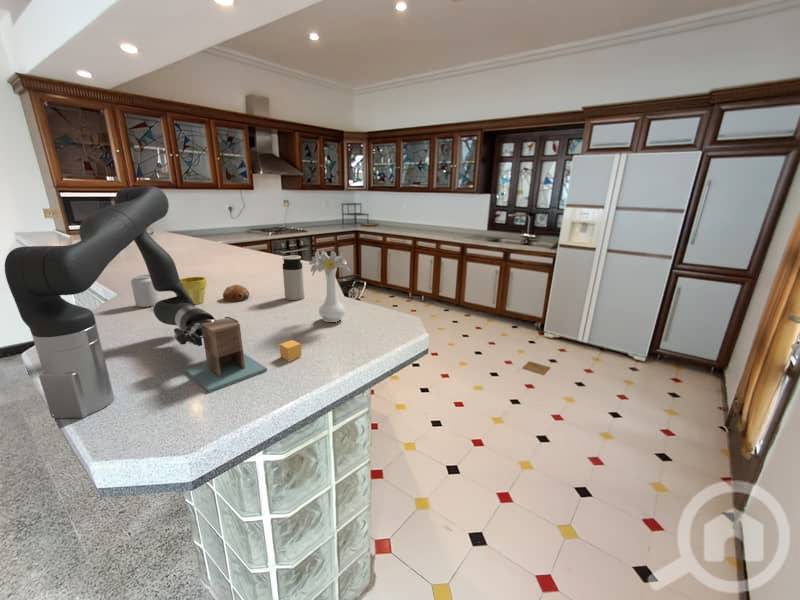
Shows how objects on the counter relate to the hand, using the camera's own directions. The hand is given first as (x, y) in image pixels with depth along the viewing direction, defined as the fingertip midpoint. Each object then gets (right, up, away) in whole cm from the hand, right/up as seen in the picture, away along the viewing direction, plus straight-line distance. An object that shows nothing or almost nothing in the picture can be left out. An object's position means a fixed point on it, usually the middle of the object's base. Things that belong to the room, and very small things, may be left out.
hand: (218, 337), depth 87 cm
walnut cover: (+1, -8, +1) cm, 8 cm away
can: (-55, +7, +52) cm, 76 cm away
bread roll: (-24, +9, +62) cm, 68 cm away
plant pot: (-39, +8, +56) cm, 69 cm away
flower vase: (+20, +2, +39) cm, 44 cm away
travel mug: (-1, +10, +65) cm, 65 cm away
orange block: (+15, -7, +10) cm, 19 cm away
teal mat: (+1, -9, +1) cm, 9 cm away
